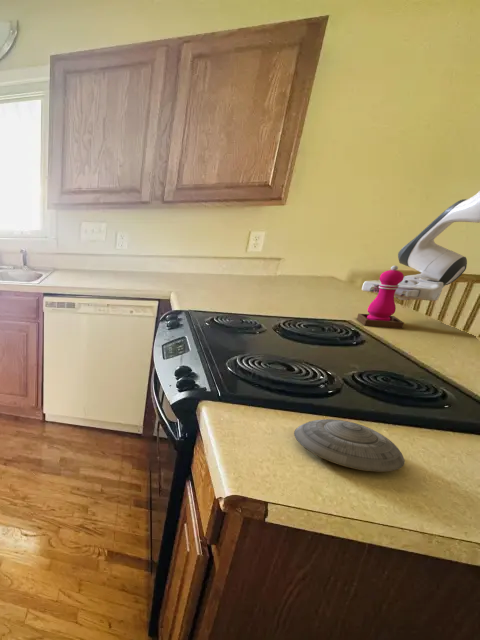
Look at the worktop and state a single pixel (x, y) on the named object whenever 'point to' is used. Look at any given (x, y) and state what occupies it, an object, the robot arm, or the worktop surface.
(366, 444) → the flying saucer
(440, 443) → the worktop surface
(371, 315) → the pepper mill
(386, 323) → the tray
